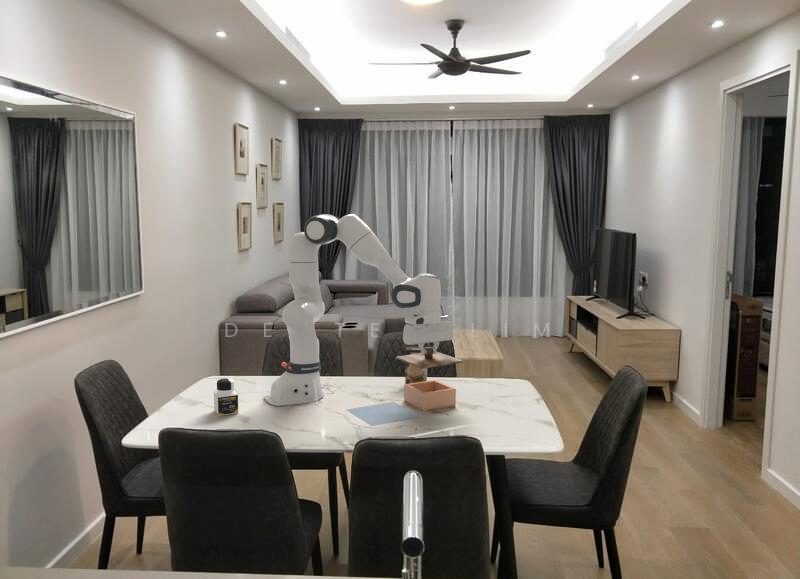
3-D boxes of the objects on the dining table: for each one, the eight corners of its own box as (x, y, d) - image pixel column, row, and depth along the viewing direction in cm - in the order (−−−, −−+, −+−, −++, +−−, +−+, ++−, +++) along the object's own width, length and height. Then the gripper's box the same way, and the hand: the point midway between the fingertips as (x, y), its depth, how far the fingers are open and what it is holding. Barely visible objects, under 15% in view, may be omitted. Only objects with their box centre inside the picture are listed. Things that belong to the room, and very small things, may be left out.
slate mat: (371, 427, 218) (371, 425, 218) (345, 411, 235) (345, 409, 235) (422, 418, 228) (422, 416, 228) (393, 403, 246) (393, 401, 245)
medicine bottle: (218, 416, 228) (217, 383, 227) (214, 410, 235) (213, 378, 233) (238, 413, 232) (237, 380, 230) (233, 407, 238) (233, 376, 237)
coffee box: (404, 387, 267) (404, 349, 265) (405, 383, 273) (406, 346, 271) (426, 388, 266) (427, 350, 264) (427, 384, 272) (428, 347, 270)
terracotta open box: (423, 412, 235) (424, 393, 234) (404, 402, 247) (404, 384, 246) (455, 406, 242) (455, 388, 241) (434, 397, 254) (435, 379, 253)
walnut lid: (421, 368, 229) (421, 355, 228) (395, 358, 244) (395, 346, 244) (462, 362, 238) (462, 349, 237) (435, 353, 253) (435, 341, 253)
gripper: (447, 313, 247) (447, 349, 249) (400, 318, 237) (401, 355, 239) (456, 316, 242) (456, 352, 243) (409, 320, 232) (409, 358, 233)
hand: (428, 354), depth 241 cm, fingers closed on walnut lid, 3 cm apart
